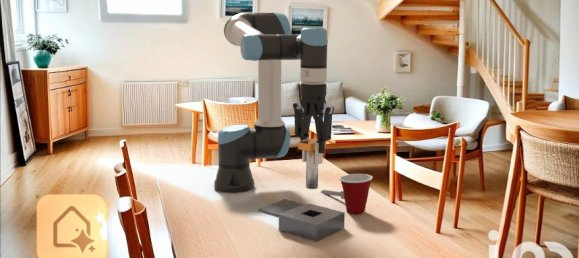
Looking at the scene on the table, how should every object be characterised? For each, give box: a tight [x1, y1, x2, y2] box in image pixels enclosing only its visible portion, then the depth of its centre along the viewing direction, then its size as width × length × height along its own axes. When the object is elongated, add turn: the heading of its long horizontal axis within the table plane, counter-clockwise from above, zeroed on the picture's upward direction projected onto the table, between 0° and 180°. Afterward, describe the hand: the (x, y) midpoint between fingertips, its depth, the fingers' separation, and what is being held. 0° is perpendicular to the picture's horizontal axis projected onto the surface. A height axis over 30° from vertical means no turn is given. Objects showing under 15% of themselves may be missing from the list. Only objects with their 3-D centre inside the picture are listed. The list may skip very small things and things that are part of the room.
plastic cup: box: [338, 173, 374, 216], centre depth 180 cm, size 11×11×12 cm
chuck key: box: [298, 137, 327, 190], centre depth 161 cm, size 8×4×14 cm, turn 140°
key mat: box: [257, 198, 305, 218], centre depth 182 cm, size 16×14×1 cm
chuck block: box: [278, 202, 346, 243], centre depth 164 cm, size 14×14×5 cm
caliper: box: [320, 189, 345, 200], centre depth 193 cm, size 20×1×6 cm, turn 28°
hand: (312, 162), depth 161 cm, fingers closed on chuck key, 4 cm apart
